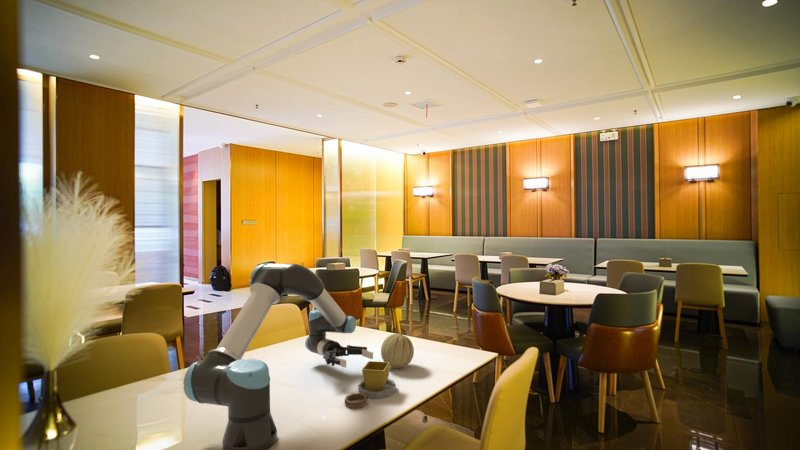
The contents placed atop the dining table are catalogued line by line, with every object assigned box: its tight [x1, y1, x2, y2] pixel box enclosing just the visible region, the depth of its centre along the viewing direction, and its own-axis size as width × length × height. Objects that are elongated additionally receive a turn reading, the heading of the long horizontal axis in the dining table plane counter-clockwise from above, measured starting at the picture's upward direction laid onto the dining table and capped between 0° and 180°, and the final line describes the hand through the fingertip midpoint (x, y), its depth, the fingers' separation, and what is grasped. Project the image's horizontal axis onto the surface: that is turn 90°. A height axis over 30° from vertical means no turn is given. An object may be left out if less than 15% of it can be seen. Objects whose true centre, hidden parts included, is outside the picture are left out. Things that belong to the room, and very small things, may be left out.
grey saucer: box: [357, 378, 397, 399], centre depth 152 cm, size 14×14×2 cm
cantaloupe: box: [380, 331, 415, 369], centre depth 176 cm, size 15×15×15 cm
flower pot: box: [361, 360, 390, 391], centre depth 152 cm, size 9×9×9 cm
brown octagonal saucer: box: [344, 392, 368, 410], centre depth 141 cm, size 8×8×2 cm
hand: (359, 359), depth 159 cm, fingers open, 13 cm apart
